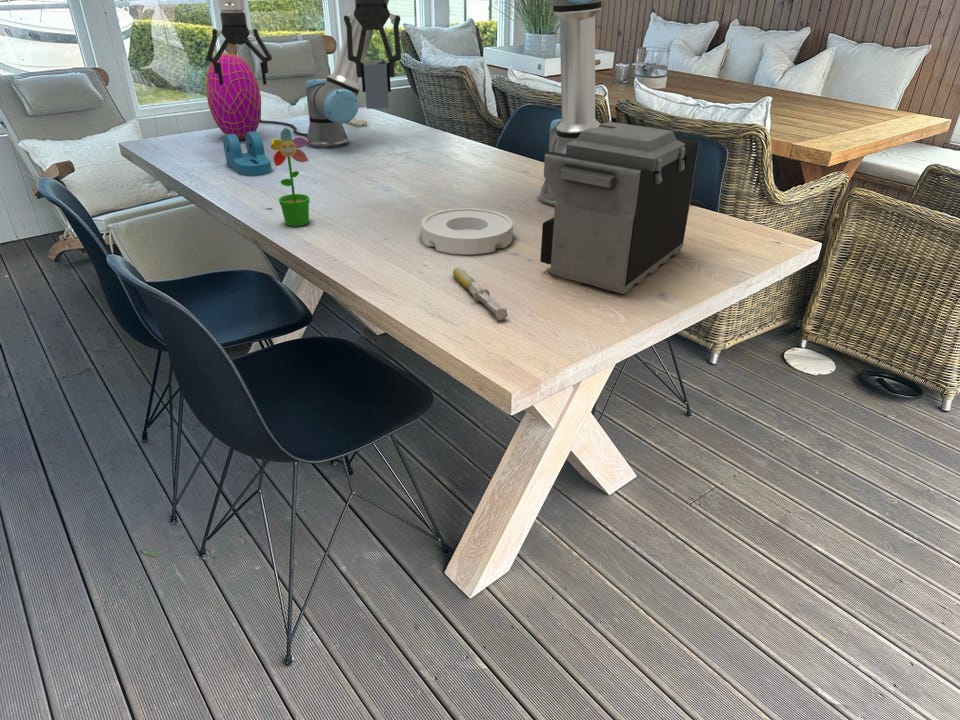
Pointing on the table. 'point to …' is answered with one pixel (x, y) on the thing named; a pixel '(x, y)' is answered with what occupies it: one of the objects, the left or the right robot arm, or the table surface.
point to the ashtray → (467, 231)
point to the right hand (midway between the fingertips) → (376, 90)
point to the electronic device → (618, 204)
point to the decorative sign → (357, 122)
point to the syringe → (479, 293)
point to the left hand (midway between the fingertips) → (243, 84)
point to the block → (376, 84)
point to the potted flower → (291, 178)
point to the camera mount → (246, 154)
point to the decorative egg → (234, 96)
